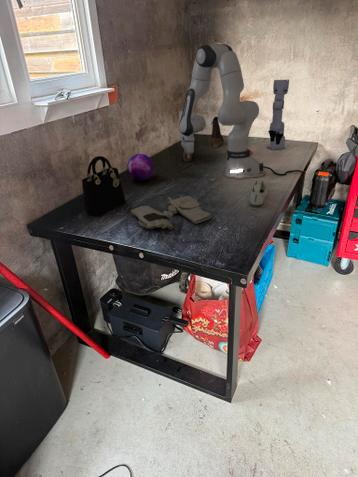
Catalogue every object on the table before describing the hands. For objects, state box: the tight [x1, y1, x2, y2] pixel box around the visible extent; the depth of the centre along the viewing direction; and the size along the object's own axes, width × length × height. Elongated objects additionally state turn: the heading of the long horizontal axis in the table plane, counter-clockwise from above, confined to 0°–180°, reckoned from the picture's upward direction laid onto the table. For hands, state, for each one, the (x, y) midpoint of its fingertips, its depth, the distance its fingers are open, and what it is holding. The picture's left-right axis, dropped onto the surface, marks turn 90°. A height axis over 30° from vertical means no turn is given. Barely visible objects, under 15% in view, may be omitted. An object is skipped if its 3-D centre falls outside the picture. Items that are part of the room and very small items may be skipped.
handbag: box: [81, 155, 126, 217], centre depth 153 cm, size 21×9×25 cm, turn 148°
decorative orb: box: [126, 153, 155, 182], centre depth 186 cm, size 15×15×15 cm
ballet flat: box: [249, 179, 269, 207], centre depth 158 cm, size 8×24×8 cm, turn 163°
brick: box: [182, 152, 193, 162], centre depth 218 cm, size 5×4×4 cm
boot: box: [210, 116, 225, 149], centre depth 246 cm, size 9×24×20 cm, turn 168°
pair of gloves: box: [130, 195, 212, 230], centre depth 145 cm, size 30×26×5 cm
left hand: (187, 156), depth 218 cm, fingers closed on brick, 4 cm apart
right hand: (274, 142), depth 213 cm, fingers open, 7 cm apart
